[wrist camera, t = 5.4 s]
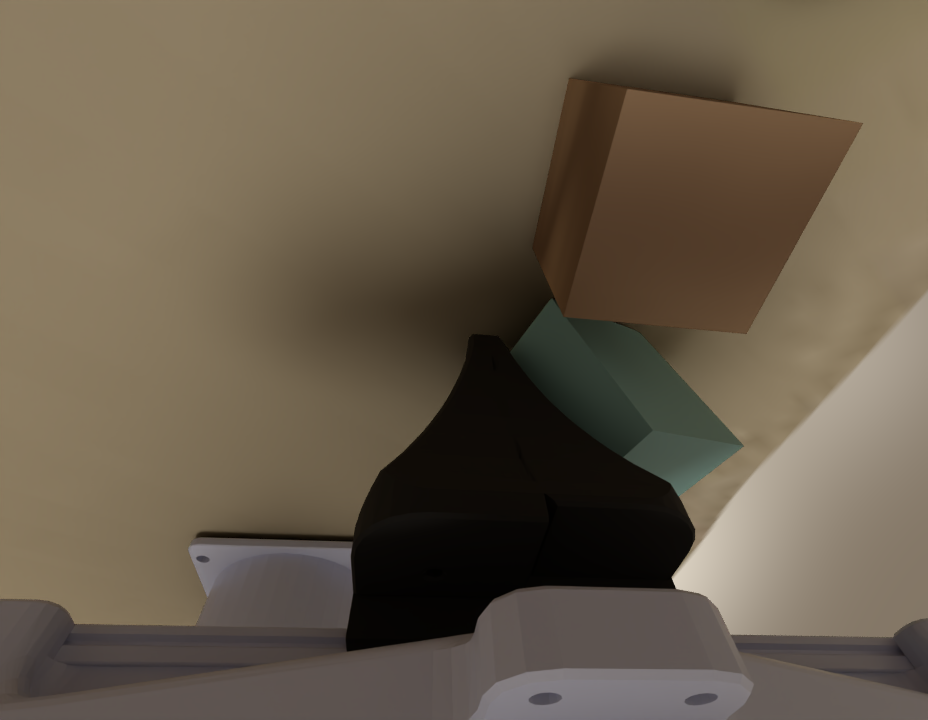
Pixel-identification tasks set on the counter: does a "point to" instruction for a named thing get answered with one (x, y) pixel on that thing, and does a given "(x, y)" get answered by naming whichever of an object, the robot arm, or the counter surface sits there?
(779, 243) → the brown cube
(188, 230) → the counter surface
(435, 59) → the counter surface
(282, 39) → the counter surface
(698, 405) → the teal block
